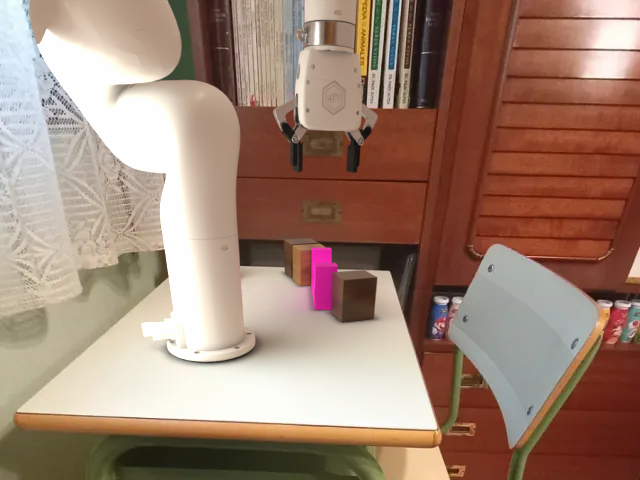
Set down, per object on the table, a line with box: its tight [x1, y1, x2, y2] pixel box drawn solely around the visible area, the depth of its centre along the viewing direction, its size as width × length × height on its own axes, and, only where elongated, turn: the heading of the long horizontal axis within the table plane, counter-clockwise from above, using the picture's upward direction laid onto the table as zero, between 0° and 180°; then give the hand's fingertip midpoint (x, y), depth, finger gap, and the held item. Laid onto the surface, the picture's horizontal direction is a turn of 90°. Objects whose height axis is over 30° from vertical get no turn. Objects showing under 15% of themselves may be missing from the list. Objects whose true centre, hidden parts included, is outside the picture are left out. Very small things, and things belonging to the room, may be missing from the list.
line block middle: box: [292, 243, 327, 287], centre depth 98 cm, size 6×5×7 cm
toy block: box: [310, 247, 339, 311], centre depth 90 cm, size 15×6×8 cm, turn 3°
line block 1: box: [283, 237, 319, 279], centre depth 103 cm, size 6×5×7 cm
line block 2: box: [330, 269, 378, 323], centre depth 81 cm, size 6×5×7 cm
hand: (324, 171), depth 80 cm, fingers open, 9 cm apart
